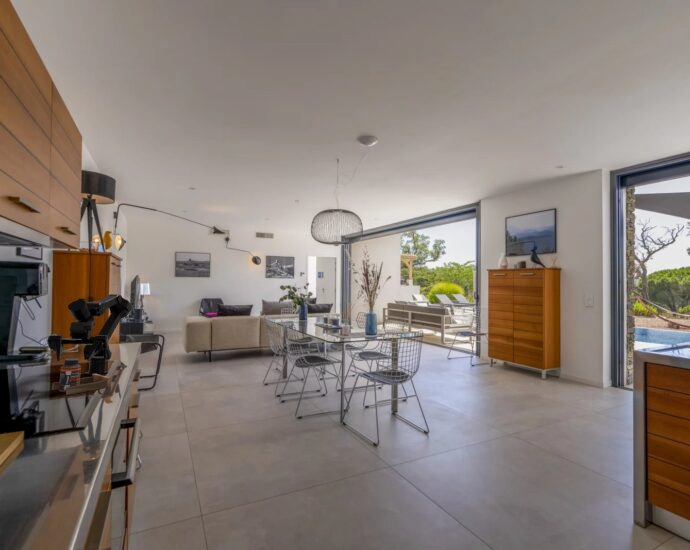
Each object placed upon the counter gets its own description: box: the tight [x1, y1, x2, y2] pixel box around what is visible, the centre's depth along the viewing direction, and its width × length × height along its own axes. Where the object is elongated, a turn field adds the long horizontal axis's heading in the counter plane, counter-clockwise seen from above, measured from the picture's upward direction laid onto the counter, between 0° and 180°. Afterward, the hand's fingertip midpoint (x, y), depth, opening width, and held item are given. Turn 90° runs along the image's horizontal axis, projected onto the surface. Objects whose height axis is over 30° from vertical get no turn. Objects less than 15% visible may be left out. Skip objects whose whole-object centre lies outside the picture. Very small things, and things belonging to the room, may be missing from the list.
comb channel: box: [51, 374, 111, 396], centre depth 135 cm, size 11×14×4 cm
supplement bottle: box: [58, 358, 82, 394], centre depth 132 cm, size 6×6×11 cm
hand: (73, 360), depth 135 cm, fingers open, 9 cm apart
